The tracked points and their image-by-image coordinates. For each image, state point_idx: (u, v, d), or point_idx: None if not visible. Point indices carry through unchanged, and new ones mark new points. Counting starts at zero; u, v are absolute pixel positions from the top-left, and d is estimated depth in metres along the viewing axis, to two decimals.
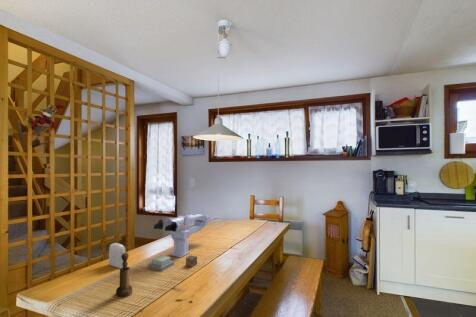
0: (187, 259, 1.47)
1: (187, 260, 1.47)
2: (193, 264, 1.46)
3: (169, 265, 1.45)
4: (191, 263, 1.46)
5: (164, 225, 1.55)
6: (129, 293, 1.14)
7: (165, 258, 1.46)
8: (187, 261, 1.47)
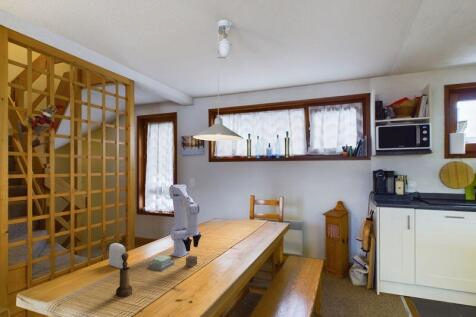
0: (187, 259, 1.47)
1: (187, 260, 1.47)
2: (193, 264, 1.46)
3: (169, 265, 1.45)
4: (191, 263, 1.46)
5: None
6: (129, 293, 1.14)
7: (166, 258, 1.46)
8: (187, 261, 1.47)
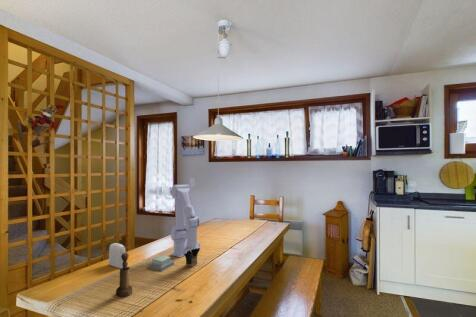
0: None
1: None
2: (193, 264, 1.46)
3: (169, 265, 1.45)
4: (191, 263, 1.46)
5: None
6: (129, 293, 1.14)
7: (165, 258, 1.46)
8: None
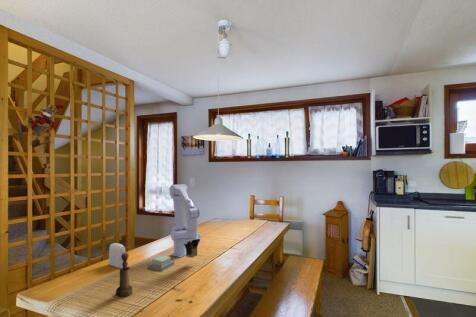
0: None
1: None
2: (193, 255, 1.46)
3: (169, 265, 1.45)
4: (191, 253, 1.46)
5: None
6: (129, 293, 1.14)
7: (165, 258, 1.46)
8: None
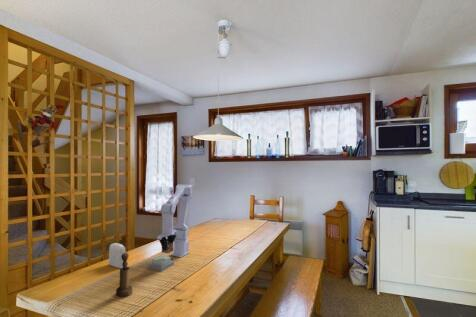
0: None
1: None
2: (169, 250, 1.44)
3: (169, 265, 1.45)
4: (166, 249, 1.44)
5: (162, 235, 1.44)
6: (129, 293, 1.14)
7: (165, 258, 1.46)
8: None
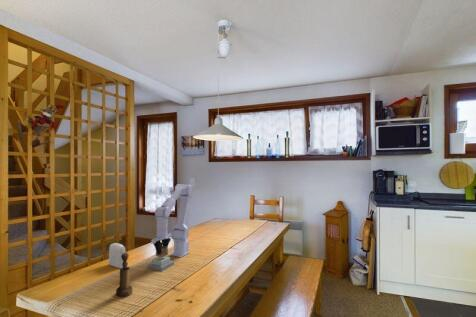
0: None
1: None
2: (163, 254, 1.44)
3: (169, 265, 1.45)
4: None
5: None
6: (129, 293, 1.14)
7: (165, 258, 1.46)
8: None
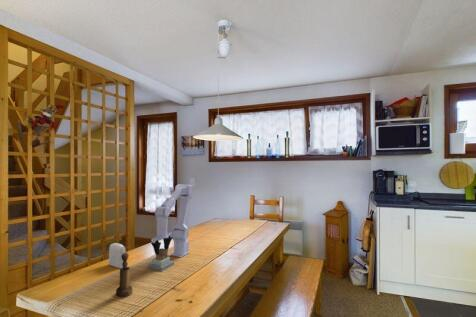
0: None
1: None
2: (163, 257, 1.44)
3: (169, 265, 1.45)
4: (161, 256, 1.44)
5: None
6: (129, 293, 1.14)
7: None
8: None
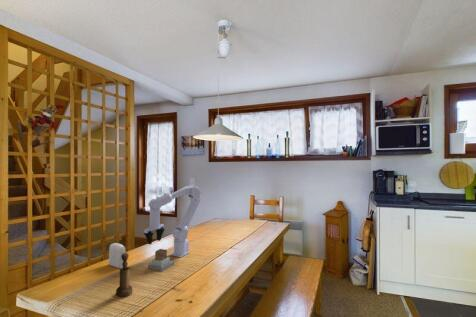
0: (156, 253, 1.44)
1: (156, 254, 1.44)
2: (163, 257, 1.44)
3: (169, 265, 1.45)
4: (160, 256, 1.43)
5: None
6: (129, 293, 1.14)
7: None
8: (156, 255, 1.44)
